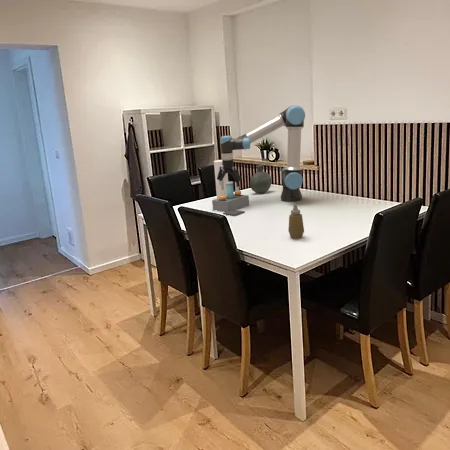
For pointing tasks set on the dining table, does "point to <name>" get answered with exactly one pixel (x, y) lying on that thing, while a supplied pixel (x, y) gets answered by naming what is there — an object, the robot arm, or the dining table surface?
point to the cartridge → (229, 190)
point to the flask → (260, 181)
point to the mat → (234, 212)
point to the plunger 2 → (237, 193)
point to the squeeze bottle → (295, 223)
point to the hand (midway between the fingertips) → (229, 190)
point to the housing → (231, 203)
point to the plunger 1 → (222, 197)
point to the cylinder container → (218, 187)
